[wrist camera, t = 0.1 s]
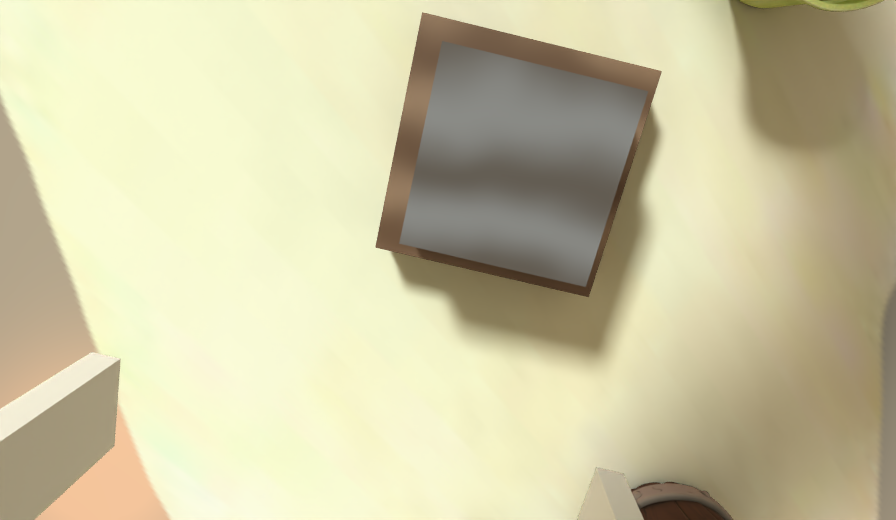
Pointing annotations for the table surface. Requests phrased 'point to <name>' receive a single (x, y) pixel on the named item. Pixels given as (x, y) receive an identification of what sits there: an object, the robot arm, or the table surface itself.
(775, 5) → the plant pot
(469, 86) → the pedestal
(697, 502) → the flowerpot
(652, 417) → the table surface
